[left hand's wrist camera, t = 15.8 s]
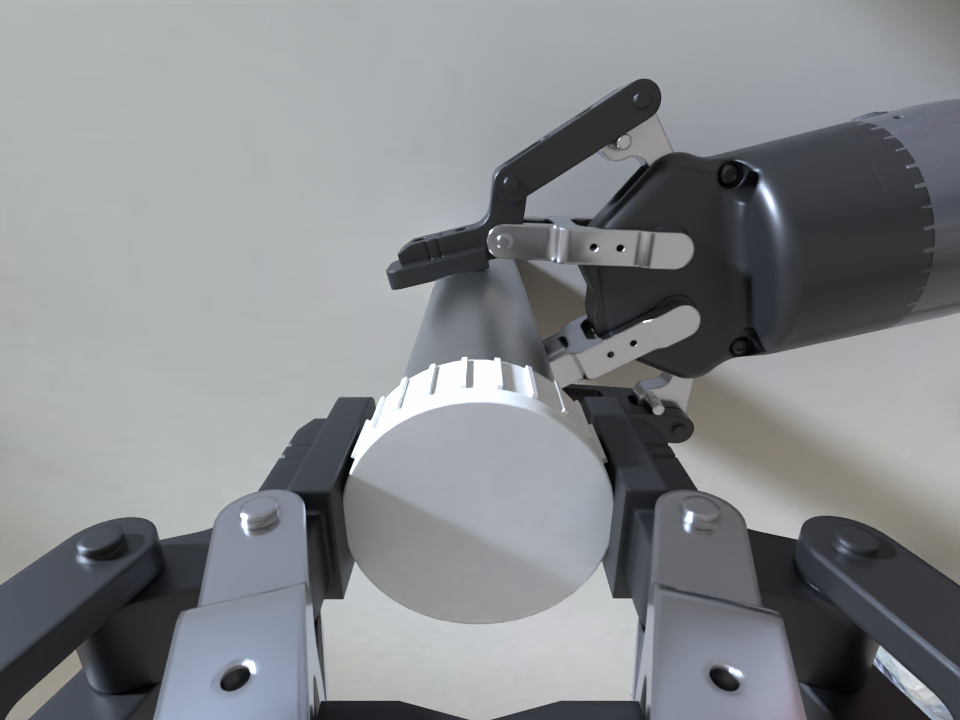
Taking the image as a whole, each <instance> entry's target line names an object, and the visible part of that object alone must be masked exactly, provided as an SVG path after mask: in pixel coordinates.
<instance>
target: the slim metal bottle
mask: <svg viewBox="0 0 960 720" xmlns="http://www.w3.org/2000/svg"><path fill="white" fill-rule="evenodd" d="M489 267H490V268H486V269H482V270H478V271H472V272H467V273H463V274H460V275H457V276H453V277H449V278H444V279H440V280H436V282H435V285H434V288H433V291H432V294H431V297H430V300H429V303H428V306H427V309H426V312H425V315H424V318H423V321H422V324H421V326H420V329H419V332H418V335H417V338H416V341H415V344H414V347H413V350H412V353H411V356H410V359H409V362H408V365H407V368H406V371H405V374H404V377H403V379H404V378H405V377H407V378H408V379H410V378H412V377H414V376H416V375H418V374H419V373H421V372H423V371H426V370H428V369H429V368H430V365H432V364H436V366H439V365H443V364H447V363H451V362H457V361H462V357H468V360H492V361H494V360H495V358H501V362H506V363H510V364H514V365H518V366H521V367H523V368H526V366H527V365H528V366H530V367H532V370H533V371H534V372H536V373H538V374H539V375H541V376H543V377H545V378H547V379H548V380H550V381H551V382H553V381H554V380H555V378H554V375H553V372H552V369H551V366H550V363H549V360H548V357H547V354H546V351H545V348H544V345H543V342H542V339H541V336H540V333H539V330H538V327H537V324H536V321H535V318H534V315H533V312H532V309H531V305H530V302H529V299H528V296H527V293H526V290H525V287H524V284H523V281H522V278H521V275H520V272H519V269H518V266H517V264H516V261H515V260H514V259H499V258H497V259H493V260H489Z"/></svg>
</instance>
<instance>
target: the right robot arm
mask: <svg viewBox="0 0 960 720" xmlns="http://www.w3.org/2000/svg"><path fill="white" fill-rule="evenodd" d="M660 103H661V92H660V89H659V87H658V86H657V84H656V83H655V82H653V81H651V80H649V79H639V80H636V81H634V82H632V83H629V84H627V85H625V86H623V87H620V88H618V89H616V90H614V91H613V92H611V93H610V94H608V95H607V96H605V97H604V98H602V99H601V100H599V101H598V102H596V103H595V104H593V105H591V106H590V107H588V108H587V109H585V110H584V111H582V112H581V113H579V114H578V115H576V116H575V117H573V118H572V119H570V120H569V121H567V122H566V123H564V124H563V125H561V126H559V127H558V128H556V129H555V130H553V131H552V132H550V133H549V134H547V135H546V136H544V137H543V138H541V139H540V140H538V141H537V142H535V143H534V144H532V145H530V146H529V147H527V148H526V149H524V150H523V151H521V152H520V153H518V154H517V155H515V156H514V157H512V158H511V159H509V160H508V161H506V162H505V163H503V164H501V165H500V166H499V167H497V169H496V170H495V171H494V173H493V176H492V187H491V195H490V204H489V209H488V212H487V214H486V215H485V217H484V218H483V219H482V220H480V221H479V222H477V223H475V224H471V225H467V226H463V227H459V228H455V229H451V230H447V231H443V232H439V233H435V234H431V235H426V236H422V237H418V238H414V239H413V240H411V241H410V242H409V243H407V244H406V245H405V246H403V247H402V249H401V250H400V251H399V252H398V257H399V260H398V261H395V262H393V263H391V265H390V266H389V267H388V269H387V270H386V273H387V276H388V279H389V283H390V286H391V289H392V290H397V289H403V288H407V287H411V286H415V285H419V284H424V283H428V282H432V281H436V280H440V279H444V278H449V277H453V276H457V275H460V274H463V273H467V272H472V271H478V270H482V269H486V268H490V267H489V260H493V259H497V258H499V259H514V260H543V261H553V262H556V263H561V264H577V265H578V267H579V269H580V271H581V273H582V275H583V277H584V279H585V282H586V284H587V290H586V300H585V307H586V313H587V314H585V315H583V316H581V317H579V318H577V319H575V320H573V321H571V322H569V323H567V324H566V325H565V326H563V327H562V329H561V330H560V331H559V332H558V333H557V334H555V335H553V336H551V337H549V338H547V339H545V340H543V341H542V342H543V345H544V348H545V351H546V354H547V357H548V360H549V363H550V366H551V369H552V372H553V375H554V378H555V380H556V381H558V382H559V384H560V387H561V389H562V390H563V391H564V392H565V393H566V394H567V395H568V396H569V397H570V398H571V399H572V400H573V402H574V401H576V400H578V401H579V403H580V405H581V407H582V402H583V399H584V397H618V398H619V399H620V401H621V403H622V404H623V406H624V408H625V410H626V412H627V413H628V415H629V417H630V418H643V419H644V420H646V421H647V422H649V423H650V424H652V425H653V426H654V427H656V428H657V429H659V430H660V432H661V433H662V435H663V437H664V438H665V440H666V441H667V443H681V442H684V441H686V440H687V439H689V438H690V437H691V435H692V434H693V431H694V426H693V423H692V421H691V420H690V419H689V418H688V416H687V414H686V411H687V407H688V403H689V399H690V395H691V392H692V388H693V384H694V380H695V378H697V377H700V376H703V375H705V374H707V373H708V372H710V371H711V370H712V369H714V368H715V367H716V366H718V365H719V364H721V363H723V362H725V361H727V360H729V359H732V358H735V357H742V356H755V355H766V354H772V353H777V352H781V351H786V350H791V349H795V348H800V347H805V346H809V345H814V344H818V343H823V342H828V341H832V340H837V339H842V338H846V337H851V336H855V335H860V334H865V333H869V332H874V331H879V330H883V329H888V328H892V327H897V326H902V325H906V324H911V323H916V322H920V321H925V320H930V319H934V318H939V317H943V316H947V315H951V314H955V313H959V312H960V99H953V100H944V101H937V102H931V103H926V104H921V105H917V106H912V107H908V108H904V109H900V110H896V111H891V112H874V113H870V114H866V115H863V116H860V117H857V118H855V119H853V120H851V121H850V122H847V123H843V124H839V125H835V126H831V127H827V128H823V129H819V130H815V131H811V132H807V133H803V134H799V135H795V136H791V137H787V138H783V139H779V140H775V141H771V142H767V143H763V144H759V145H755V146H751V147H747V148H743V149H739V150H735V151H731V152H727V153H723V154H719V155H715V156H710V157H698V156H695V155H692V154H689V153H684V152H674V151H673V149H672V147H671V145H670V142H669V140H668V138H667V136H666V133H665V131H664V129H663V127H662V125H661V122H660V120H659V118H658V116H657V113H656V112H657V110H658V109H659V106H660ZM596 152H597V153H598V154H599V156H600V157H602V158H603V159H605V160H609V161H622V160H624V159H627V158H629V157H633V158H635V159H637V160H638V161H639V162H640V164H641V165H642V166H641V167H640V168H639V169H638V170H637V171H636V172H635V173H634V174H633V176H632V177H631V178H630V179H629V180H628V181H627V182H626V183H625V184H624V185H623V187H622V188H621V189H620V190H619V191H618V192H617V193H616V194H615V195H614V196H613V198H612V199H611V200H610V201H609V202H608V203H607V204H606V205H605V206H604V207H603V209H602V210H601V211H600V212H599V213H598V214H597V215H596V216H595V217H567V216H549V217H525V216H524V212H525V205H526V198H527V196H528V195H530V194H531V193H533V192H534V191H536V190H538V189H539V188H541V187H542V186H544V185H545V184H547V183H549V182H550V181H552V180H553V179H555V178H557V177H558V176H560V175H561V174H563V173H564V172H566V171H568V170H569V169H571V168H572V167H574V166H575V165H577V164H579V163H580V162H582V161H583V160H585V159H586V158H588V157H590V156H591V155H593V154H594V153H596ZM608 352H609V353H608ZM632 360H636V361H639V362H641V363H644V364H646V365H649V366H651V367H654V368H656V369H659V370H661V371H663V372H662V374H661V375H659V376H658V377H656V378H654V379H647V380H640V381H638V382H637V384H636V385H635V386H634V388H633V389H632V388H618V387H605V386H591V385H577V384H572V383H574V382H576V381H578V380H581V379H586V380H591V379H595V378H598V377H600V376H602V375H604V374H606V373H608V372H610V371H612V370H614V369H616V368H618V367H620V366H622V365H624V364H626V363H628V362H630V361H632Z"/></svg>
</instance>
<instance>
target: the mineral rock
mask: <svg viewBox="0 0 960 720" xmlns="http://www.w3.org/2000/svg"><path fill="white" fill-rule="evenodd" d="M874 661H875V662H876V664H877V666H878V668H879V670H880V671H881V672H882V673H883V674H884V675H885V676H886V677H887V678H888V679H889V680H890V681H891V682H892V683H893V684H894V685H895V686H897V687H898V688H899V689H900V690H901V691H902V692H903V693H904V694H905V695H906V696H907V697H908V698H909V699H910V700H911V701H912V702H914V703H915V704H916V705H917V706H918V707H919V708H920V709H921V710H922V711H923V712H924V713H925V714H926V715H927V716H928V717H929V718H931V719H932V720H953V718H952V716H951V714H950V712H949V711H948V709H947V708H946V706H945V705H944V704H943V703H942V702H941V700H940V699H939V698H938V697H937V696H936V695H935V694H934V693H933V692H931V691H930V690H929V689H928V688H927V687H926V686H925V685H924V684H923V683H921V682H920V681H919V680H918V679H917V678H916V677H915V676H914V675H913V674H911V673H910V672H909V671H908V670H907V669H906V668H905V667H904V666H902V665H901V664H900V663H899V662H898V661H897V660H896V659H895V658H894V657H892V656H891V655H890V654H889V653H888V652H887V651H886V650H885V649H884V648H882V647H881V646H879V649H878V651H877V654H876V656H875V659H874Z"/></svg>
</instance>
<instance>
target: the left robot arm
mask: <svg viewBox="0 0 960 720" xmlns="http://www.w3.org/2000/svg"><path fill="white" fill-rule="evenodd" d="M582 410H583V412H584V415H585V417H586V420H587V422H588V425H590V424H593V427H594V429H595V432H596V434H597V437H598V439H599V441H600V444H601V446H602V449H603V451H604V454H605V456H606V458H607V461H608V462H607V463H604V466H605V469H606V472H607V474H608V477H609V479H610V482H611V485H612V489H613V494H614V502H613V512H612V520H611V529H610V538H609V546H608V549H607V551H606V553H605V556H604V558H603V559H602V563H603V566H604V569H605V573H606V576H607V580H608V583H609V586H610V590H611V593H612V596H613V598H632V599H633V602H634V605H635V608H636V611H637V614H638V616H639V617H638V623H637V631H636V645H635V659H634V673H633V687H632V700H631V701H559V702H555V703H551V704H548V705H544V706H540V707H537V708H533V709H529V710H526V711H522V712H518V713H514V714H511V715H507V716H503V717H500V718H496V719H492V720H932V719H931V718H929V717H928V716H927V715H926V714H925V713H924V712H923V711H922V710H921V709H920V708H919V707H918V706H917V705H916V704H915V703H914V702H912V701H911V700H910V699H909V698H908V697H907V696H906V695H905V694H904V693H903V692H902V691H901V690H900V689H899V688H898V687H897V686H895V685H894V684H893V683H892V682H891V681H890V680H889V679H888V678H887V677H886V676H885V675H884V674H883V673H882V672H881V671H880V670H879V669H877V668H876V667H875V666H874V665H873V661H874V659H875V656H876V654H877V651H878V649H879V646H881V647H882V648H884V649H885V650H886V651H887V652H888V653H889V654H890V655H891V656H892V657H894V658H895V659H896V660H897V661H898V662H899V663H900V664H901V665H902V666H904V667H905V668H906V669H907V670H908V671H909V672H910V673H911V674H913V675H914V676H915V677H916V678H917V679H918V680H919V681H920V682H921V683H923V684H924V685H925V686H926V687H927V688H928V689H929V690H930V691H931V692H933V693H934V694H935V695H936V696H937V697H938V698H939V699H940V700H941V702H942V703H943V704H944V705H945V706H946V708H947V709H948V711H949V712H950V714H951V716H952V718H953V720H960V585H958V584H957V583H955V582H954V581H952V580H951V579H950V578H948V577H947V576H945V575H944V574H942V573H941V572H939V571H938V570H937V569H935V568H934V567H932V566H931V565H929V564H928V563H926V562H925V561H923V560H922V559H921V558H919V557H918V556H916V555H915V554H913V553H912V552H910V551H909V550H907V549H906V548H905V547H903V546H902V545H900V544H899V543H897V542H896V541H894V540H893V539H891V538H890V537H888V536H887V535H885V534H884V533H882V532H880V531H878V530H876V529H875V528H872V527H870V526H868V525H866V524H863V523H860V522H857V521H854V520H851V519H847V518H842V517H835V516H818V517H813V518H810V519H808V520H807V521H805V522H804V524H803V525H802V528H801V531H800V535H799V538H798V540H796V539H792V538H787V537H782V536H777V535H773V534H768V533H763V532H758V531H754V530H750V529H747V526H746V522H745V519H744V518H743V516H742V514H741V513H740V512H739V511H738V510H737V509H736V508H735V507H734V506H732V505H731V504H729V503H728V502H726V501H725V500H723V499H721V498H719V497H716V496H714V495H711V494H708V493H705V492H701V491H698V490H697V488H696V487H695V485H694V484H693V482H692V480H691V479H690V477H689V476H688V474H687V473H686V471H685V469H684V468H683V466H682V465H681V463H680V462H679V460H678V458H675V454H674V452H673V451H672V449H671V447H670V446H668V443H667V441H666V440H665V438H664V437H663V435H662V433H661V432H660V430H659V429H657V428H656V427H654V426H653V425H652V424H650V423H649V422H647V421H646V420H644V419H643V418H630V417H629V415H628V413H627V412H626V410H625V408H624V406H623V404H622V403H621V401H620V399H619V398H618V397H584V399H583V402H582ZM375 411H376V407H375V401H374V399H373V397H339V398H338V400H337V401H336V403H335V405H334V407H333V408H332V410H331V412H330V414H329V415H328V417H327V419H313V420H312V421H310V422H309V423H308V424H306V425H305V426H303V427H302V428H300V429H299V430H298V431H297V432H296V434H295V435H294V437H293V438H292V440H291V441H290V443H289V447H287V448H286V449H285V451H284V452H283V454H282V457H281V458H279V460H278V461H277V463H276V464H275V466H274V468H273V469H272V471H271V472H270V474H269V475H268V477H267V478H266V480H265V481H264V483H263V485H262V486H261V488H260V489H259V491H258V492H255V493H252V494H249V495H246V496H244V497H241V498H239V499H237V500H235V501H234V502H232V503H231V504H229V505H228V506H226V507H225V508H224V509H223V510H222V511H221V512H220V513H219V514H218V516H217V518H216V519H215V522H214V526H213V528H211V529H208V530H205V531H201V532H197V533H192V534H187V535H182V536H178V537H173V538H168V539H163V540H159V536H158V533H157V529H156V527H155V525H154V524H153V523H152V522H150V521H149V520H146V519H143V518H136V517H127V518H119V519H113V520H109V521H106V522H102V523H99V524H96V525H94V526H91V527H89V528H87V529H84V530H82V531H80V532H79V533H77V534H75V535H73V536H72V537H70V538H69V539H67V540H66V541H64V542H63V543H61V544H60V545H58V546H57V547H55V548H54V549H53V550H51V551H50V552H48V553H47V554H45V555H44V556H42V557H41V558H39V559H38V560H37V561H35V562H34V563H32V564H31V565H29V566H28V567H26V568H25V569H23V570H22V571H21V572H19V573H18V574H16V575H15V576H13V577H12V578H10V579H9V580H8V581H6V582H5V583H3V584H2V585H0V720H5V718H6V716H7V715H8V713H9V712H10V710H11V709H12V708H13V706H14V705H15V704H16V703H17V702H18V701H19V700H20V699H21V698H22V697H23V696H24V695H25V694H26V693H27V692H28V691H30V690H31V689H32V688H33V687H34V686H35V685H36V684H37V683H39V682H40V681H41V680H42V679H43V678H44V677H45V676H46V675H47V674H49V673H50V672H51V671H52V670H53V669H54V668H55V667H56V666H57V665H59V664H60V663H61V662H62V661H63V660H64V659H65V658H66V657H68V656H69V655H70V654H71V653H72V652H73V651H74V650H75V649H76V651H77V653H78V656H79V658H80V661H81V664H82V666H83V669H81V670H80V671H79V672H78V673H77V674H76V675H75V676H74V677H73V678H72V679H71V680H70V681H69V682H68V683H67V684H66V685H64V686H63V687H62V688H61V689H60V690H59V691H58V692H57V693H56V694H55V695H54V696H53V697H52V698H51V699H50V700H49V701H48V702H46V703H45V704H44V705H43V706H42V707H41V708H40V709H39V710H38V711H37V712H36V713H35V714H34V715H33V716H32V717H31V718H29V719H28V720H468V719H464V718H460V717H457V716H453V715H449V714H445V713H442V712H438V711H434V710H431V709H427V708H423V707H420V706H416V705H412V704H409V703H405V702H401V701H329V700H328V687H327V673H326V659H325V645H324V631H323V623H322V617H321V610H320V609H321V606H322V603H323V601H324V599H344V595H345V592H346V589H347V585H348V582H349V579H350V576H351V572H352V569H353V566H354V562H355V560H354V558H353V556H352V554H351V552H350V549H349V547H348V540H347V532H346V523H345V515H344V506H343V492H344V488H345V484H346V481H347V479H348V476H349V473H350V471H351V468H352V466H353V463H354V461H355V459H353V458H351V456H352V453H353V451H354V448H355V446H356V444H357V441H358V439H359V436H360V434H361V432H362V429H363V427H364V425H365V422H366V420H370V421H371V420H372V418H373V416H374V413H375Z"/></svg>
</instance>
